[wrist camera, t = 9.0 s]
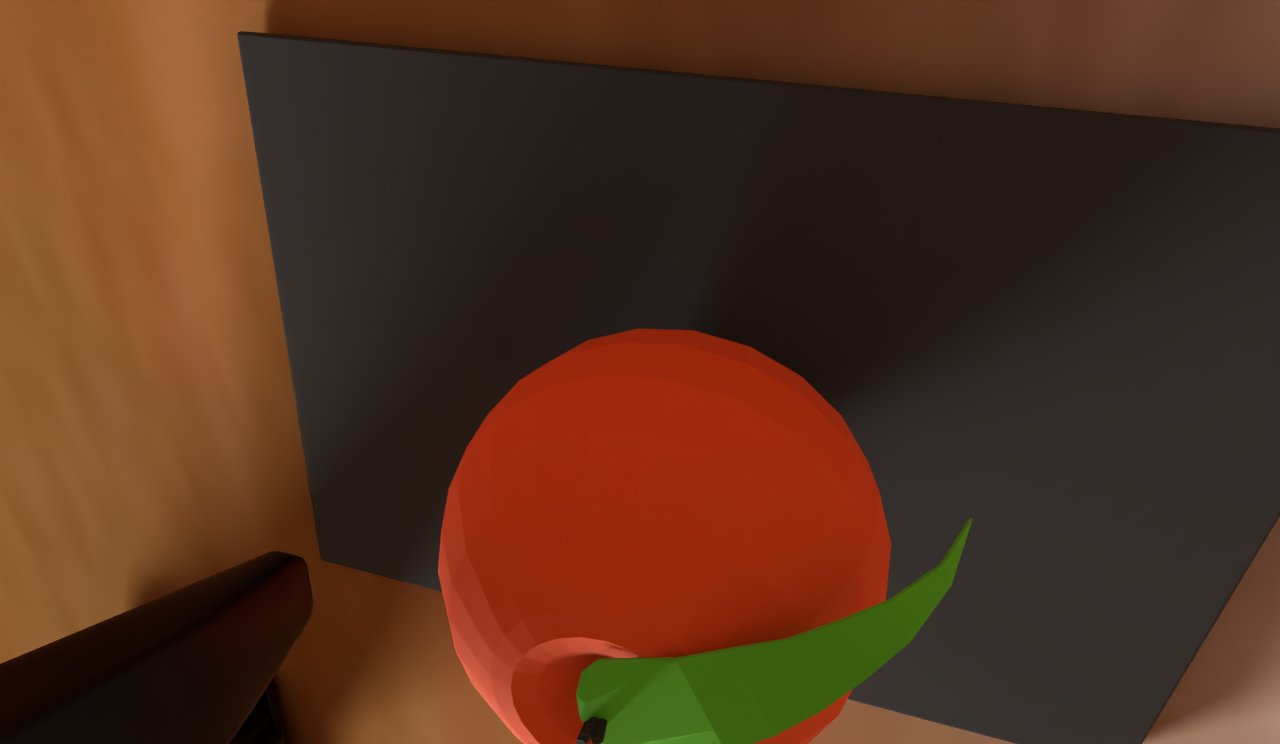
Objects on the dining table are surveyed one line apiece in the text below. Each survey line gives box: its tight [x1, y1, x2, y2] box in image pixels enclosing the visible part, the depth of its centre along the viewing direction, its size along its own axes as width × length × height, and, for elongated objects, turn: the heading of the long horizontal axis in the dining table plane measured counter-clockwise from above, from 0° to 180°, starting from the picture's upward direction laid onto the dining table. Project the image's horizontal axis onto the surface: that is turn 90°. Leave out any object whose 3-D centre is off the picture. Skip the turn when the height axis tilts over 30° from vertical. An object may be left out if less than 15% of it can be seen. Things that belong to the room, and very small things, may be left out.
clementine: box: [438, 329, 973, 744], centre depth 11 cm, size 8×7×7 cm
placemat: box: [237, 31, 1280, 744], centre depth 14 cm, size 20×13×1 cm, turn 85°
